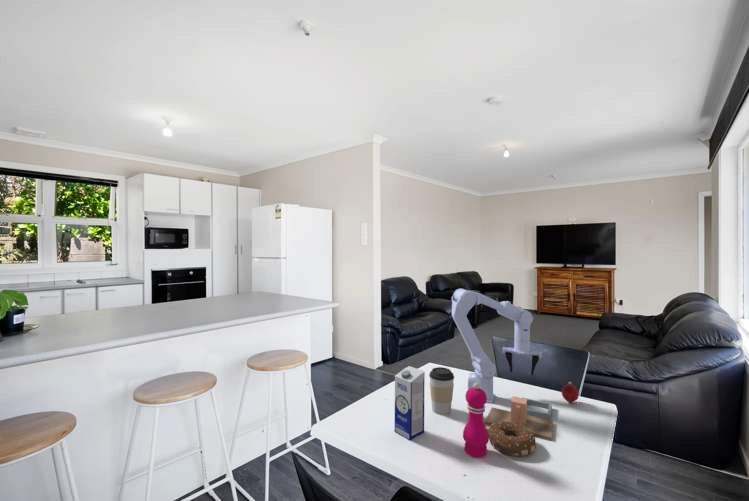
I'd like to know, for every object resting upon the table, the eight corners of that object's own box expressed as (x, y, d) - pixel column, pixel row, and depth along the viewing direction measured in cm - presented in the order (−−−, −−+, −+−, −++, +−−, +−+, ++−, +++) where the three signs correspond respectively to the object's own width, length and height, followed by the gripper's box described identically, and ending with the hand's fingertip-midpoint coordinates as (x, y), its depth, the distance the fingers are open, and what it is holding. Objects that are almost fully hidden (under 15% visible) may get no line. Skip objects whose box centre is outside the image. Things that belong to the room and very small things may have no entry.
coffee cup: (452, 405, 131) (452, 365, 131) (455, 416, 122) (456, 374, 122) (428, 404, 132) (428, 364, 132) (429, 415, 123) (430, 373, 123)
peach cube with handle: (512, 416, 121) (512, 396, 121) (527, 419, 119) (527, 399, 119) (510, 423, 116) (510, 402, 116) (525, 427, 113) (525, 406, 113)
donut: (499, 429, 115) (499, 414, 114) (543, 446, 105) (543, 429, 105) (477, 446, 105) (477, 429, 104) (523, 466, 95) (523, 448, 95)
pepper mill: (469, 441, 107) (469, 376, 106) (492, 450, 102) (493, 382, 102) (458, 452, 101) (459, 383, 101) (482, 462, 96) (483, 390, 96)
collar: (518, 413, 125) (518, 408, 125) (521, 402, 134) (521, 397, 134) (550, 420, 120) (550, 415, 120) (552, 408, 129) (552, 403, 129)
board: (484, 424, 117) (484, 421, 117) (491, 409, 128) (491, 407, 128) (551, 440, 107) (551, 437, 107) (553, 423, 118) (553, 420, 118)
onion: (577, 407, 130) (577, 386, 130) (560, 403, 134) (560, 382, 134) (579, 402, 135) (579, 381, 135) (562, 398, 138) (563, 378, 138)
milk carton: (424, 433, 111) (425, 370, 111) (410, 440, 107) (410, 375, 107) (408, 424, 117) (408, 365, 117) (394, 431, 112) (394, 369, 112)
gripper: (502, 339, 139) (501, 373, 139) (542, 343, 133) (541, 379, 133) (503, 335, 146) (503, 367, 146) (541, 339, 139) (541, 373, 140)
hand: (521, 372), depth 140 cm, fingers open, 7 cm apart
